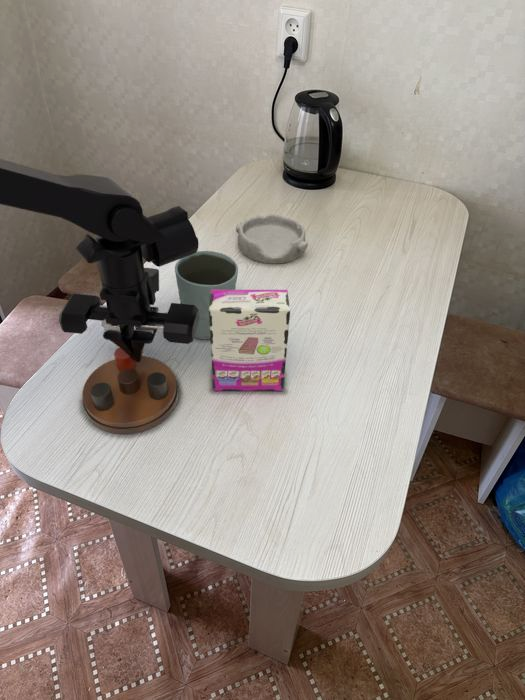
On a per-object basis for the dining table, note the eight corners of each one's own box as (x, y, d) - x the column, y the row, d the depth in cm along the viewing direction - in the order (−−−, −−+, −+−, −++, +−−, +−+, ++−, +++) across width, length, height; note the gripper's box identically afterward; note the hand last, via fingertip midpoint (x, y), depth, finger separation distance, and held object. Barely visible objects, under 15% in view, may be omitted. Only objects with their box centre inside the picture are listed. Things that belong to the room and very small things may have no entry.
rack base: (86, 443, 70) (84, 438, 70) (82, 373, 80) (80, 367, 79) (186, 423, 74) (185, 418, 73) (170, 357, 83) (169, 352, 82)
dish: (313, 260, 106) (316, 240, 102) (252, 272, 102) (252, 251, 98) (286, 226, 115) (287, 206, 112) (228, 236, 111) (228, 216, 108)
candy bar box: (281, 369, 82) (289, 288, 71) (283, 392, 79) (292, 310, 68) (213, 368, 82) (210, 287, 71) (211, 391, 78) (208, 309, 67)
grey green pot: (171, 314, 91) (165, 258, 83) (222, 299, 95) (221, 244, 87) (193, 349, 85) (189, 292, 77) (247, 332, 89) (248, 276, 80)
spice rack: (86, 437, 70) (80, 418, 67) (81, 368, 79) (75, 350, 76) (184, 416, 73) (182, 398, 70) (168, 353, 82) (166, 334, 79)
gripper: (204, 249, 72) (208, 331, 83) (76, 238, 73) (97, 320, 84) (188, 296, 64) (194, 380, 75) (44, 283, 65) (71, 368, 76)
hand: (138, 360), depth 77 cm, fingers closed
